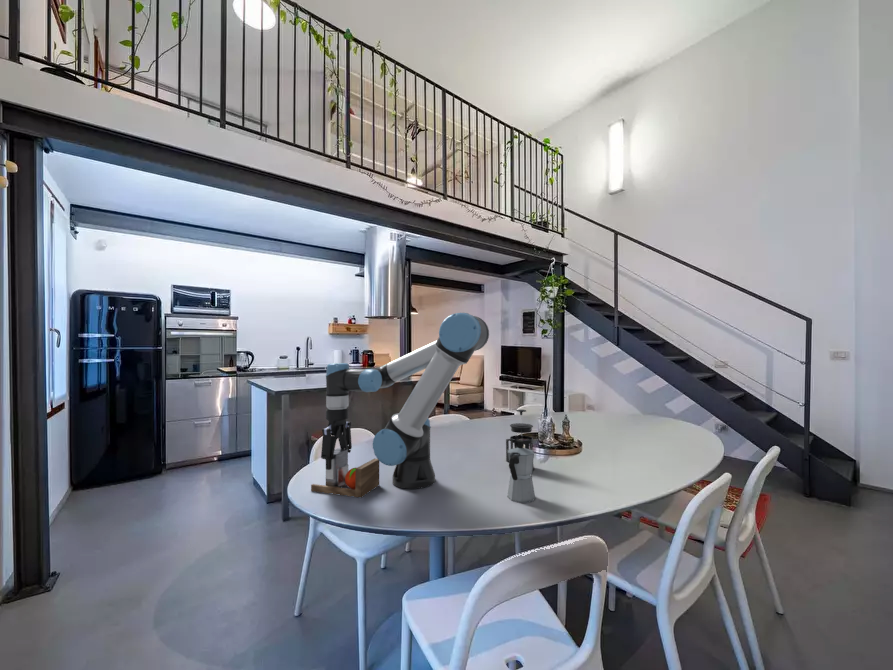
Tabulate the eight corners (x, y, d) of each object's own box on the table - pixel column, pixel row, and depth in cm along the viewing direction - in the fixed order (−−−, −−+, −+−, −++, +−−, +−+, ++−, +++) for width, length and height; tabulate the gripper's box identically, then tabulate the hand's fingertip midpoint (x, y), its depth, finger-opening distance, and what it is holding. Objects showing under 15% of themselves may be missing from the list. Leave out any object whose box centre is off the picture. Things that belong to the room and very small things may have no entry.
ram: (349, 484, 134) (349, 449, 134) (337, 491, 127) (337, 454, 128) (337, 482, 135) (338, 448, 136) (325, 489, 129) (325, 453, 129)
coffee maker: (515, 488, 129) (514, 434, 130) (540, 493, 124) (540, 437, 125) (497, 504, 116) (496, 444, 117) (525, 510, 111) (524, 447, 112)
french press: (528, 463, 157) (527, 407, 158) (540, 470, 148) (539, 410, 149) (501, 466, 154) (501, 408, 154) (512, 473, 145) (511, 412, 145)
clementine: (359, 494, 124) (359, 472, 125) (339, 493, 126) (339, 471, 126) (369, 485, 132) (369, 465, 132) (350, 484, 134) (350, 464, 134)
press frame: (379, 485, 133) (379, 458, 133) (360, 497, 121) (361, 469, 122) (332, 479, 139) (332, 454, 139) (311, 491, 127) (311, 463, 128)
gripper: (344, 403, 143) (344, 465, 142) (309, 411, 124) (308, 483, 123) (362, 404, 141) (361, 467, 140) (328, 412, 122) (328, 486, 121)
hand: (337, 474), depth 131 cm, fingers closed on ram, 7 cm apart
